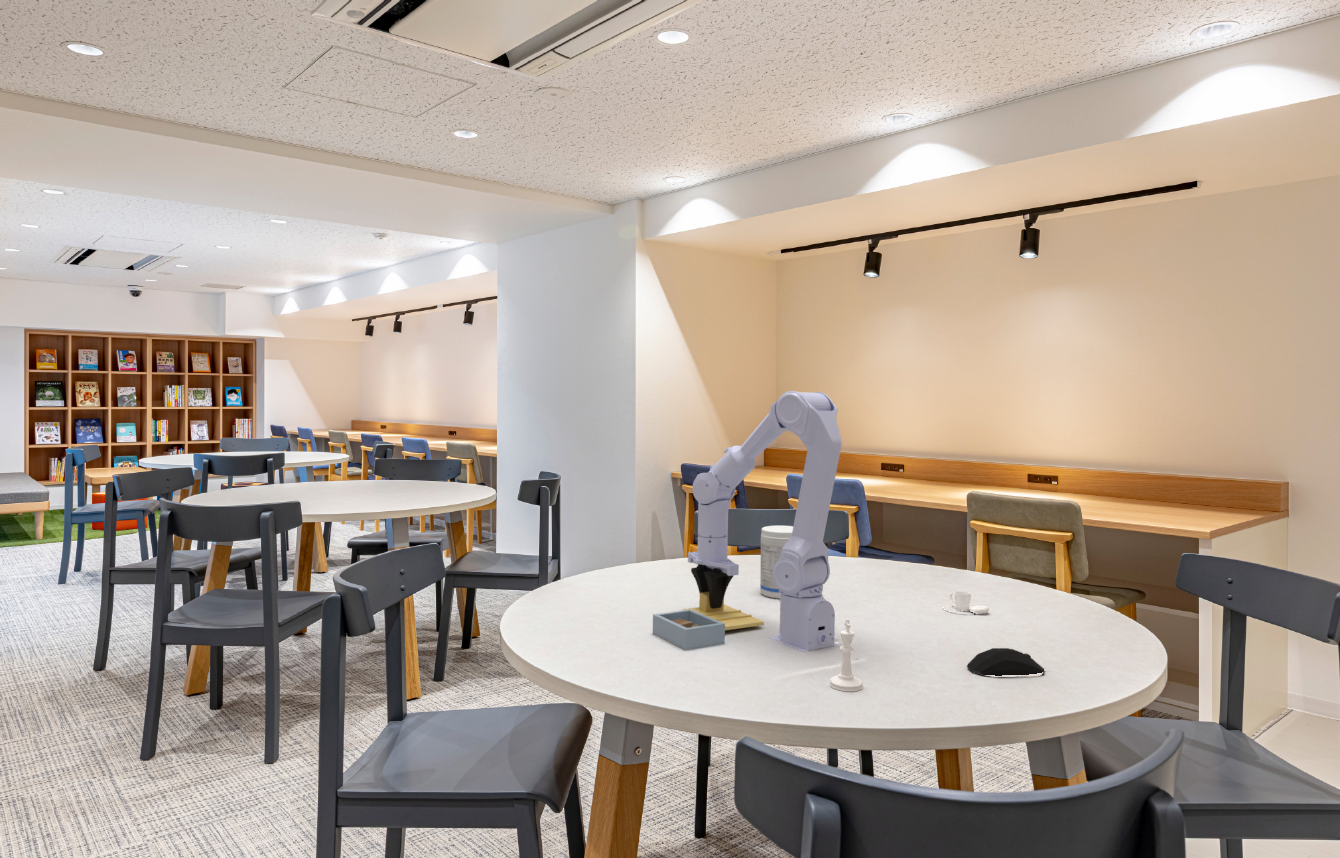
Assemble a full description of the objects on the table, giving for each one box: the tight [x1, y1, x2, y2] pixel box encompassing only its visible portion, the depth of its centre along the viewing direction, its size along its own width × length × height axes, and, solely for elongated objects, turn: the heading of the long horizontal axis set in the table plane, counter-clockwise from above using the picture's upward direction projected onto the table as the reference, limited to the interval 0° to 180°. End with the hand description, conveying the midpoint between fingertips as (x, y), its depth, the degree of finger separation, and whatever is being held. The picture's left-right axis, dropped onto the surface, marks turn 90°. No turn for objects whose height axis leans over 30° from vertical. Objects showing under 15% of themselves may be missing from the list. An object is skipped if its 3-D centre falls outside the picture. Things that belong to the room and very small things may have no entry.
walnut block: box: [673, 619, 692, 628], centre depth 141 cm, size 3×3×3 cm
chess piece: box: [828, 618, 864, 693], centre depth 120 cm, size 5×5×10 cm
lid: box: [683, 592, 765, 631], centre depth 151 cm, size 13×10×4 cm
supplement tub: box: [759, 525, 794, 600], centre depth 177 cm, size 10×10×15 cm
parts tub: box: [652, 608, 726, 651], centre depth 141 cm, size 11×8×4 cm
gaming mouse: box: [966, 647, 1045, 676], centre depth 128 cm, size 6×15×4 cm, turn 94°
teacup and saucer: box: [942, 590, 990, 615], centre depth 166 cm, size 9×8×4 cm
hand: (711, 606), depth 154 cm, fingers closed on lid, 2 cm apart
